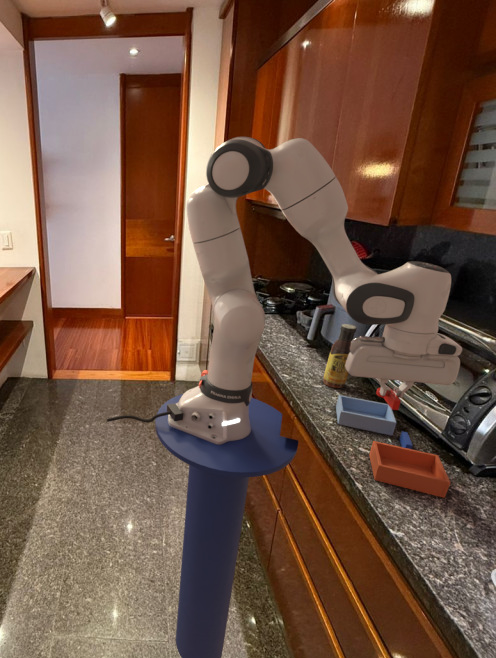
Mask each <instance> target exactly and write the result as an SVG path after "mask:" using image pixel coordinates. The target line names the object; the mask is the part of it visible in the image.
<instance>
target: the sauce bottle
mask: <svg viewBox="0 0 496 658" xmlns="http://www.w3.org/2000/svg"><path fill="white" fill-rule="evenodd" d="M339 328H340V331H339V335H338V338H337V339H336V340H334V342H333V344H332V345H331V349H330V352H329V355H328V359H327V362H326V366H325V370H324V372H323V373H324V374H323V382H322V383H323V384H324V385H325V386H326V387H330V388H333V389H342V388H344V386H345V384H346V383H347V380H348V376H349V373H348V371H347V370H346V368H345V364H346V360H347V358H348V355H349V353H350V345H351V342H352V340H354V337H355V335H356V333H357V326H355V325H353V324H348V323H343V324H341V326H340V327H339Z"/></svg>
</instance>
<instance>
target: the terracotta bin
mask: <svg viewBox="0 0 496 658" xmlns="http://www.w3.org/2000/svg"><path fill="white" fill-rule="evenodd" d="M412 449H413V448H411V449H408V448H403V447H402V446H398V445H394V444H389V443H384V442H380V441H375V440H373V441H372V444H371V447H370V451H369V455H368V456H369V460H370V464H371V465H370V466H371V470H372V475H373V479H374V481H376V482H382V483H385V484H389V485H393V486H397V487H401V488H405V489H408V490H413V491H416V492H420V493H423V494H427V495H433V496H435V497H439V498H443V499H445V498H446V495H447V493H448V490H449V489H450V486H451V480H450V478H449V476H448V474H447V472H446V469H445V467H444V466H443V462H442V461H441V458H440V457H439V454H435V453H430V452H425V451H421V450H416V449H413V450H412Z"/></svg>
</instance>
